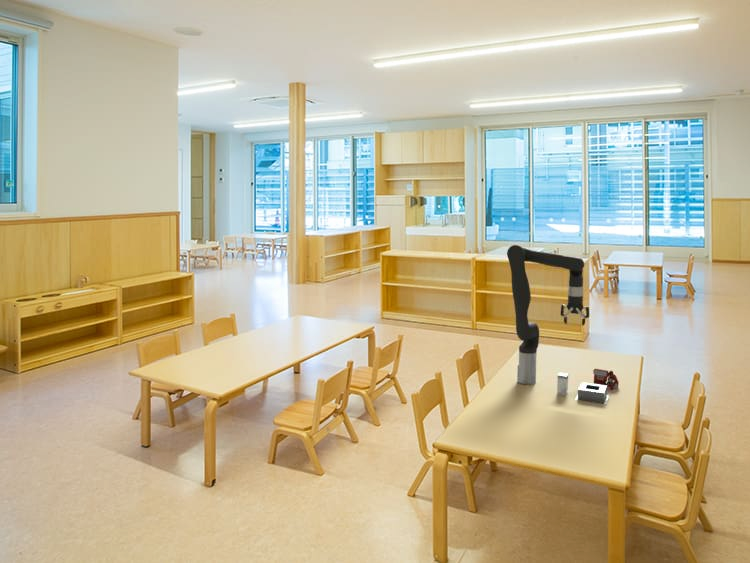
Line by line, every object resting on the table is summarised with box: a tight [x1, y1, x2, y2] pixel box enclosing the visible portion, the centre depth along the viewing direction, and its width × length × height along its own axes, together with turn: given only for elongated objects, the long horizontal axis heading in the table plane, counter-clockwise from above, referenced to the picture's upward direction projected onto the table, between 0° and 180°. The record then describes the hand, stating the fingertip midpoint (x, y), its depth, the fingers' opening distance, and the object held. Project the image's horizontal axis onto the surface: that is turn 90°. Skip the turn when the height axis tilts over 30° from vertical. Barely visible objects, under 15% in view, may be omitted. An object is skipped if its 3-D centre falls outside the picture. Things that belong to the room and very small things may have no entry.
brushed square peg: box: [556, 372, 569, 396], centre depth 282 cm, size 4×4×11 cm
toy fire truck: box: [592, 368, 620, 391], centre depth 292 cm, size 7×12×10 cm, turn 55°
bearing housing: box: [575, 381, 610, 405], centre depth 277 cm, size 14×14×6 cm
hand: (574, 324), depth 299 cm, fingers open, 8 cm apart
